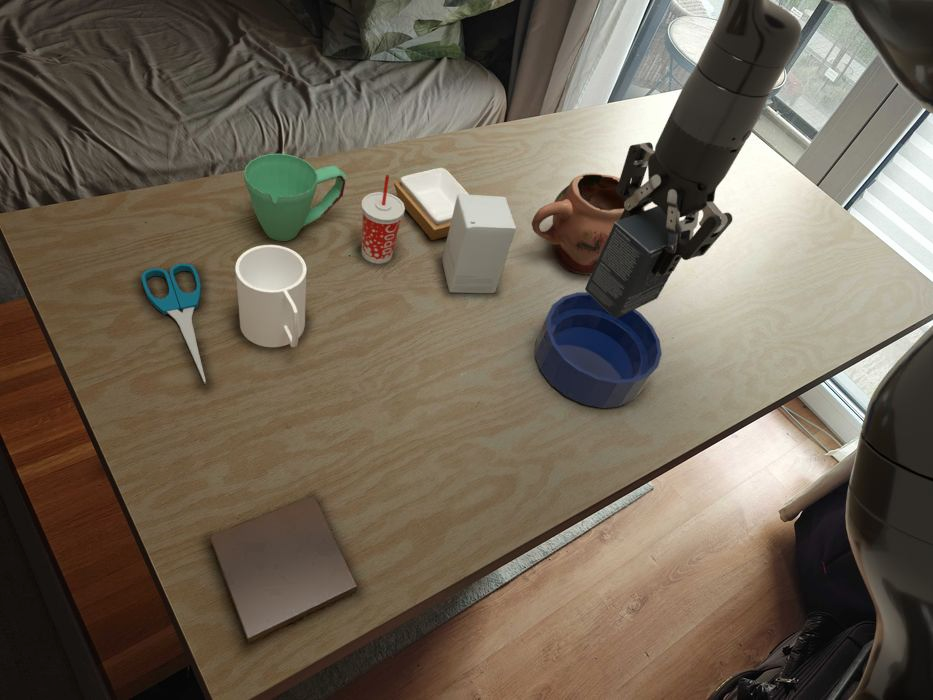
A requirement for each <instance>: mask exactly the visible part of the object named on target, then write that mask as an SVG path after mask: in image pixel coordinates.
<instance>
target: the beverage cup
mask: <svg viewBox="0 0 933 700" xmlns="http://www.w3.org/2000/svg"><path fill="white" fill-rule="evenodd" d="M389 181H390V175H389V174H386V175H385V178H384V185H383V191H382V192H380V191H375V192H371V193H368V194H367V195H365V196H364V197H363V199H362V201H361V204H360V205H361V213H362V221H361V222H362V225H361V255H362V257H363V259H365V260H366V261H368V262H369V263H373V264H375V265H377V264H378V265H381V264H385V263H388V262H389V261H390V260H392V257H393V254H394V249H395V246H396V241H397V237H398V232H399V229H400V224H401V220H402V219H403V217H404V214H405V210H406V209H405V207H404V203H403V202H402V201H401V200H400V199H399V198H398V196H396V195H394V194H391V193H388V188H389Z"/></svg>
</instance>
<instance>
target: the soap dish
mask: <svg viewBox="0 0 933 700" xmlns="http://www.w3.org/2000/svg"><path fill="white" fill-rule="evenodd" d="M393 187H394V189H395V191H396V192H395V193H396V195H397V198H399V199H400V200H401V201H402V202H403V203H404V207H405V210H406V212H408V213H409V215H410V216H411V217H412V218H413V219H414V221H415V222H416V223H417V224H418V225H419V227H420V228H421V229H422V230H423V232H424V233H425V234H426V235H427V236H428V238H429V239H430V240H431V241H436V240H439V239H443V238H447V237H448V233H449V229H450V224H451V220H452V216H453V211H454V207H455V203H456V199H457V195H458V194H464V195H470V193H468V191H467V190H465V188H464V187H463V185H461V184H460V182H459V181H458V180H456V178H455V177H454V176H453V175H452V174H451V173H450V172H449V171H448V169H446V168H445V167H438V168H433V169H428V170H424V171H419V172H415V173H410V174H407V175H403V176H402V177H400V179H399V180H394V181H393Z"/></svg>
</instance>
